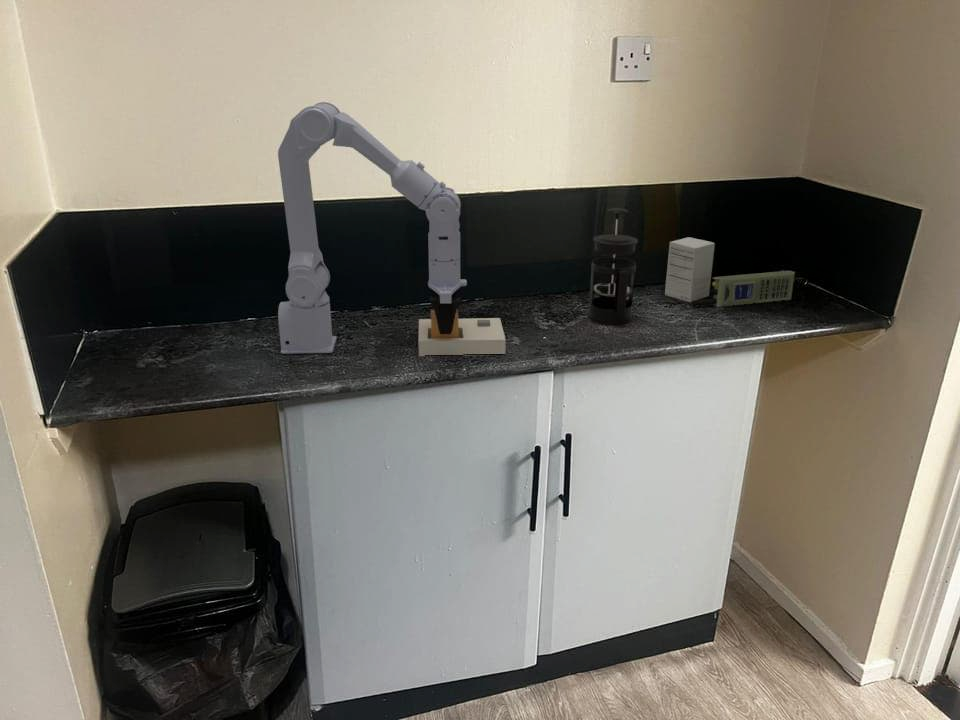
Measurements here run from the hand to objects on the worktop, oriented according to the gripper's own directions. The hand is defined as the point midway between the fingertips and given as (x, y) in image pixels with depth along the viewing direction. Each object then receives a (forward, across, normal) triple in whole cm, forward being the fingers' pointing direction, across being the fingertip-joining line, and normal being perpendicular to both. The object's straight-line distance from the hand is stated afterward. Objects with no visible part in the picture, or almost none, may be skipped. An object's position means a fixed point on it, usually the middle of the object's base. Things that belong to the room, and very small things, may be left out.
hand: (445, 328), depth 145 cm
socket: (+4, +2, -3) cm, 5 cm away
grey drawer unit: (+4, +30, -56) cm, 64 cm away
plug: (+4, 0, 0) cm, 4 cm away
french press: (+4, +15, -35) cm, 38 cm away
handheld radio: (+4, +24, -67) cm, 71 cm away
